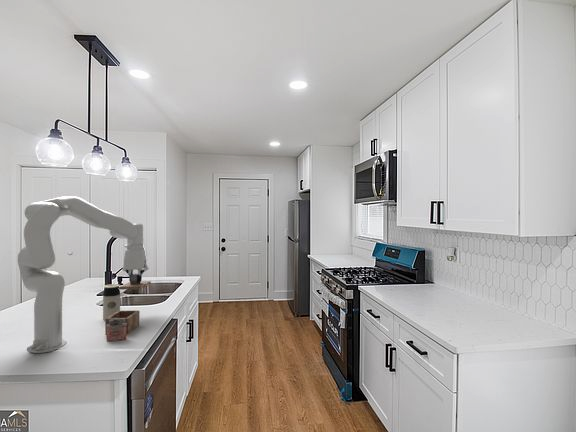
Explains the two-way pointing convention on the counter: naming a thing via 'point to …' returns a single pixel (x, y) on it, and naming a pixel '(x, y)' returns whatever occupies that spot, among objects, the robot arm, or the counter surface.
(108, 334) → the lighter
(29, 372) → the counter surface
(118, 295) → the travel mug
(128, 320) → the box
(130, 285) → the lid
